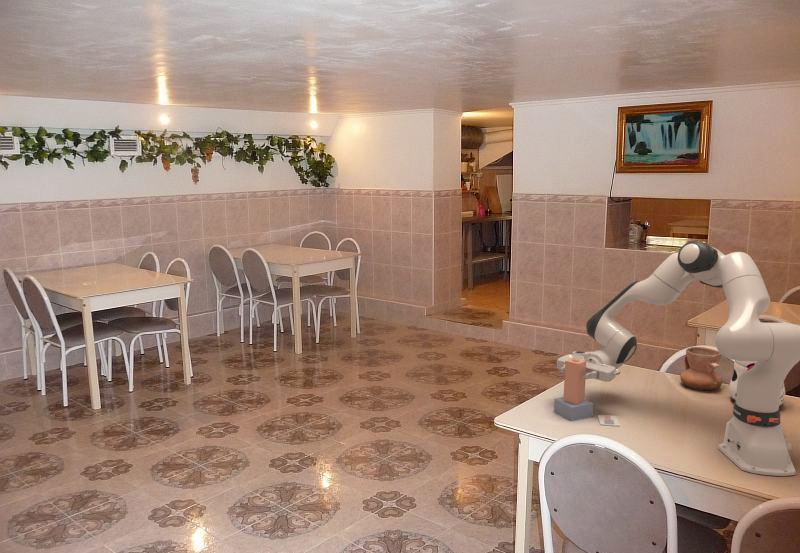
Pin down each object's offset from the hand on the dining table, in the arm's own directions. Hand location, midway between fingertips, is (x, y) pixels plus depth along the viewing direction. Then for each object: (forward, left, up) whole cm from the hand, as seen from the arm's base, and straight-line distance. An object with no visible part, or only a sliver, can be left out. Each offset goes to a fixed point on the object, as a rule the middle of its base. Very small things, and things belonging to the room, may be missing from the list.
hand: (573, 373), depth 219 cm
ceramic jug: (+38, -50, -15) cm, 64 cm away
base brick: (+1, -1, -15) cm, 15 cm away
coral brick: (+1, -1, -10) cm, 10 cm away
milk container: (+23, -65, -15) cm, 70 cm away
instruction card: (-3, -12, -15) cm, 19 cm away
